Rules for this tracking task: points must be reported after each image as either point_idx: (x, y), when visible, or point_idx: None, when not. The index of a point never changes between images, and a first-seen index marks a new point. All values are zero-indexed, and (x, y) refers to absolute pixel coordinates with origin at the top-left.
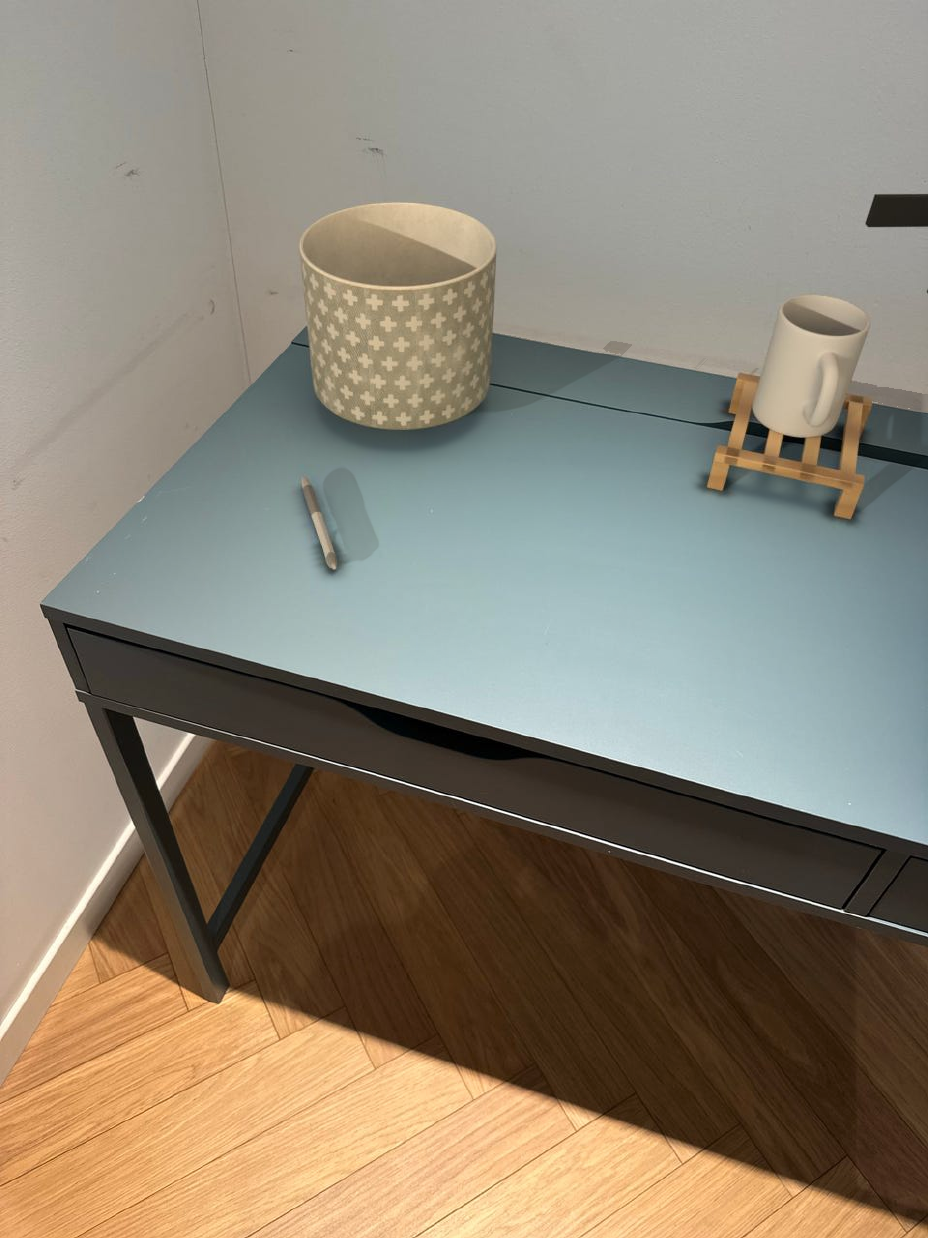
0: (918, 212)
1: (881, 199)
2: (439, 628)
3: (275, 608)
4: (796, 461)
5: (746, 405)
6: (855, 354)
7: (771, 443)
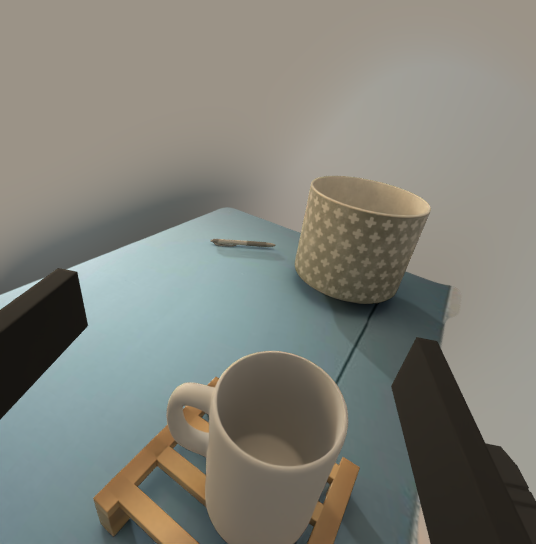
0: (440, 485)
1: (416, 348)
2: (161, 258)
3: (200, 232)
4: (173, 440)
5: None
6: (213, 446)
7: None
